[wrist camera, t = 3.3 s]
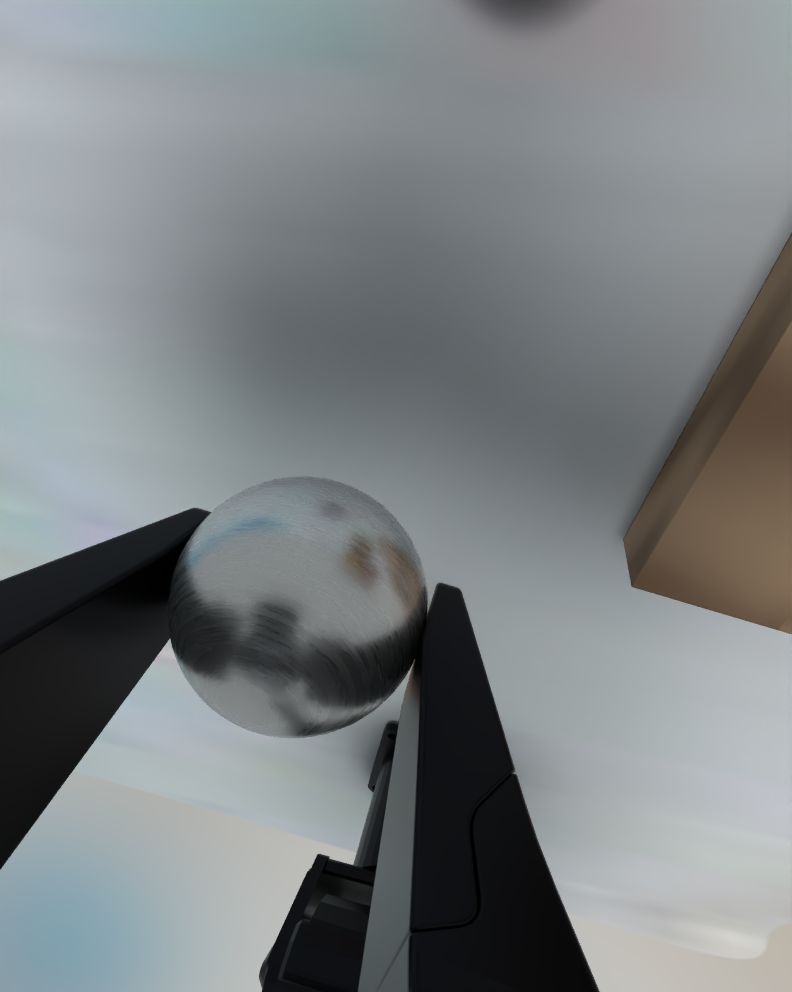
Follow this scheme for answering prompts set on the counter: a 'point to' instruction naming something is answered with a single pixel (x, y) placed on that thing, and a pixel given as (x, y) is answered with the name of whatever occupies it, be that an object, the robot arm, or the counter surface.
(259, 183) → the counter surface
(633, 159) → the counter surface
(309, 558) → the steel ball
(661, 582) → the brown recessed board
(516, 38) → the counter surface
